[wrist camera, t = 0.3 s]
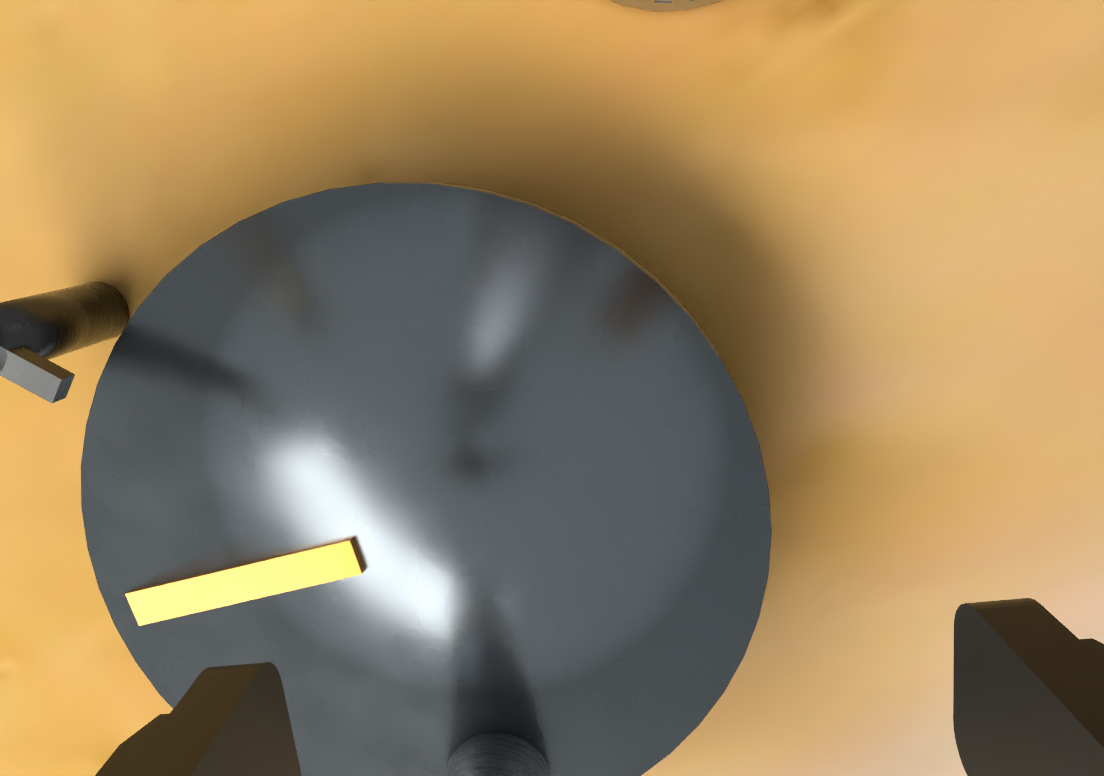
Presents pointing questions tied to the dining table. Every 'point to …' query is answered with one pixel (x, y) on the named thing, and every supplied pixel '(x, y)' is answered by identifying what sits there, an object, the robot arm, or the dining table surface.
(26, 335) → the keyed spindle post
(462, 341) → the turntable
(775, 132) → the dining table surface
